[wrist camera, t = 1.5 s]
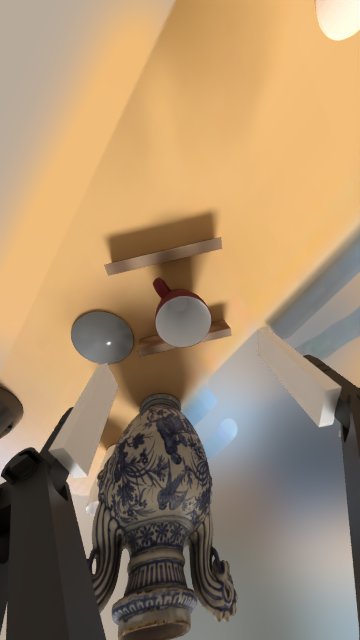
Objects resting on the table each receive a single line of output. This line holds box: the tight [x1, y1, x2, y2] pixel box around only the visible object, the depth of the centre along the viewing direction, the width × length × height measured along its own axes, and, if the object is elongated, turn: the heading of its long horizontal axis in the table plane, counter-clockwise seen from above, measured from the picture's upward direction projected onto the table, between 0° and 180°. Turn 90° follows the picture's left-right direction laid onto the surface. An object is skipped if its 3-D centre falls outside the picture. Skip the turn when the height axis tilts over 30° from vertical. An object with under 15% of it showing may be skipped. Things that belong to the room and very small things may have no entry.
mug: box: [153, 278, 212, 348], centre depth 28 cm, size 11×8×10 cm
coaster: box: [71, 311, 134, 364], centre depth 34 cm, size 12×12×1 cm
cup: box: [86, 444, 116, 517], centre depth 43 cm, size 9×9×12 cm
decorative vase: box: [87, 394, 238, 640], centre depth 31 cm, size 21×19×28 cm
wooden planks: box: [104, 237, 231, 357], centre depth 30 cm, size 18×17×4 cm
